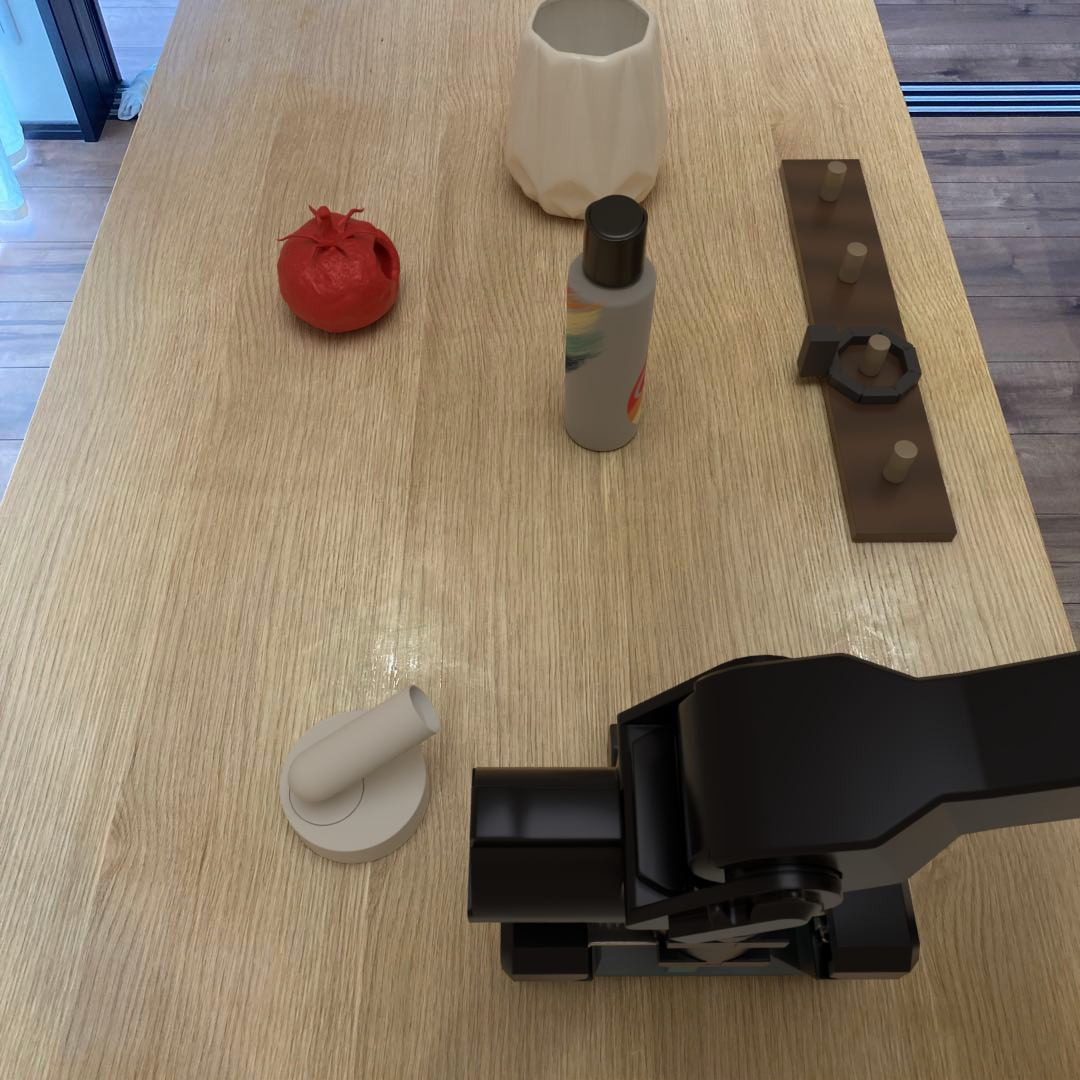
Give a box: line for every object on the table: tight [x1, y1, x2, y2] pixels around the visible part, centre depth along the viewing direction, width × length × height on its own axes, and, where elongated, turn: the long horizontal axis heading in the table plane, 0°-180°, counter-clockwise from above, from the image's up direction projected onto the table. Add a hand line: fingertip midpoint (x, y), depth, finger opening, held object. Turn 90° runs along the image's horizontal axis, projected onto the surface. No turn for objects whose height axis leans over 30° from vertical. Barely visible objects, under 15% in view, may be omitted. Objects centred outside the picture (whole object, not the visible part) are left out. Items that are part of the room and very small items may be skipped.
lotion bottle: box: [563, 195, 657, 452], centre depth 70 cm, size 6×6×20 cm
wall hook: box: [279, 683, 441, 865], centre depth 59 cm, size 9×10×10 cm
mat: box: [594, 923, 809, 978], centre depth 59 cm, size 18×9×1 cm, turn 90°
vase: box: [504, 0, 670, 221], centre depth 87 cm, size 14×14×15 cm
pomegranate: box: [275, 204, 401, 334], centre depth 81 cm, size 10×10×9 cm
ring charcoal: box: [796, 324, 923, 404], centre depth 78 cm, size 9×7×4 cm
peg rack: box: [779, 158, 958, 543], centre depth 81 cm, size 40×7×4 cm, turn 0°
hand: (682, 942), depth 55 cm, fingers open, 9 cm apart
